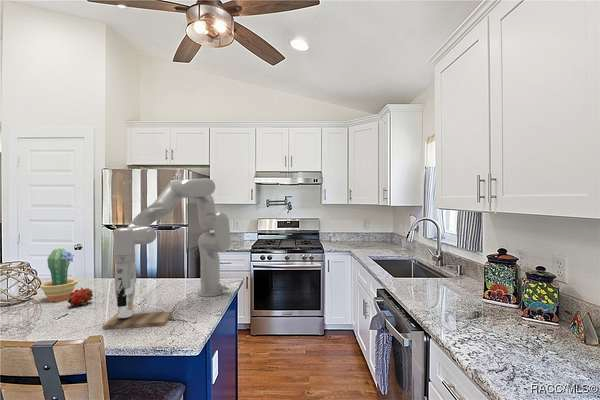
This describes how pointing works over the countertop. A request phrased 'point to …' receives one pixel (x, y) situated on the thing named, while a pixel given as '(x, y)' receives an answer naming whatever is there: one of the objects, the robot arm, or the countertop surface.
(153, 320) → the oak board
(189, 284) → the countertop surface
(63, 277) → the potted cactus
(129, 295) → the beer glass
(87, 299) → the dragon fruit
